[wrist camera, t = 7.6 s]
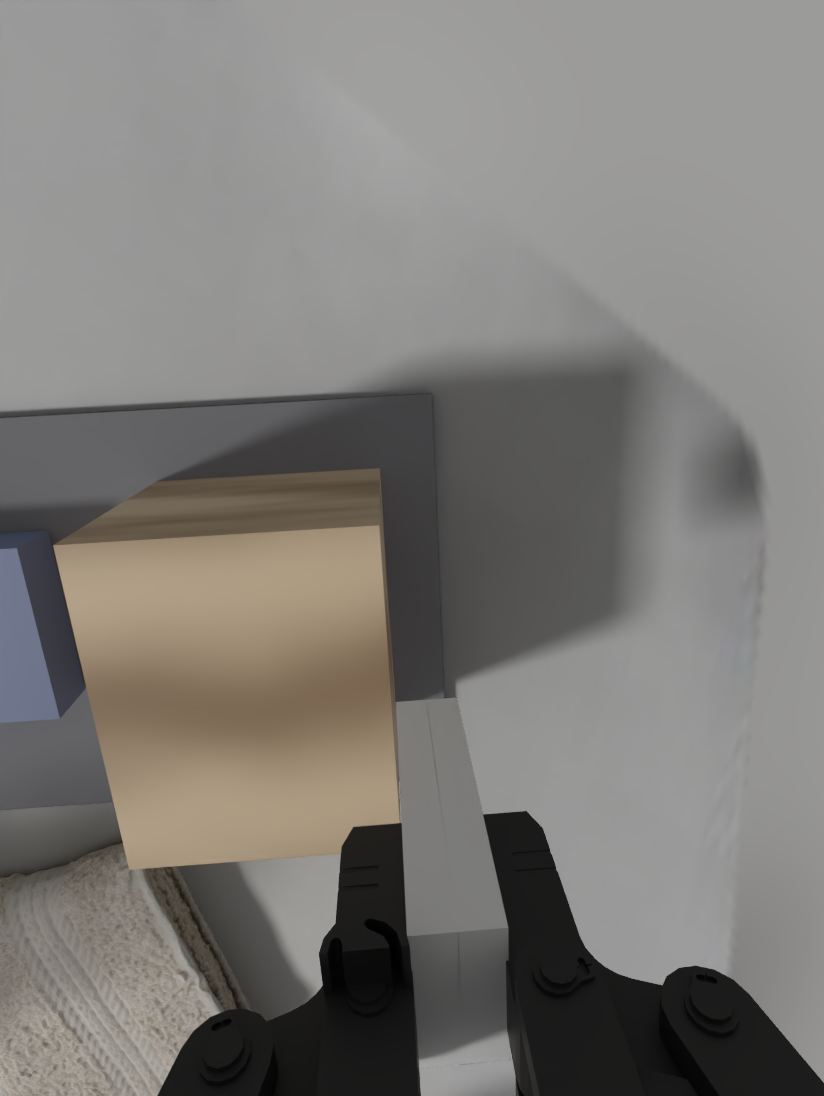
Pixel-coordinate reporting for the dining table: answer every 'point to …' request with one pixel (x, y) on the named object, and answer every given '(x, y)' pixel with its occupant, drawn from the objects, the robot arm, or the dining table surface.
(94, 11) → the dining table surface
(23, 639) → the card box
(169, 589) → the oak block
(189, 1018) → the washcloth
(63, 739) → the mat
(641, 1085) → the robot arm
